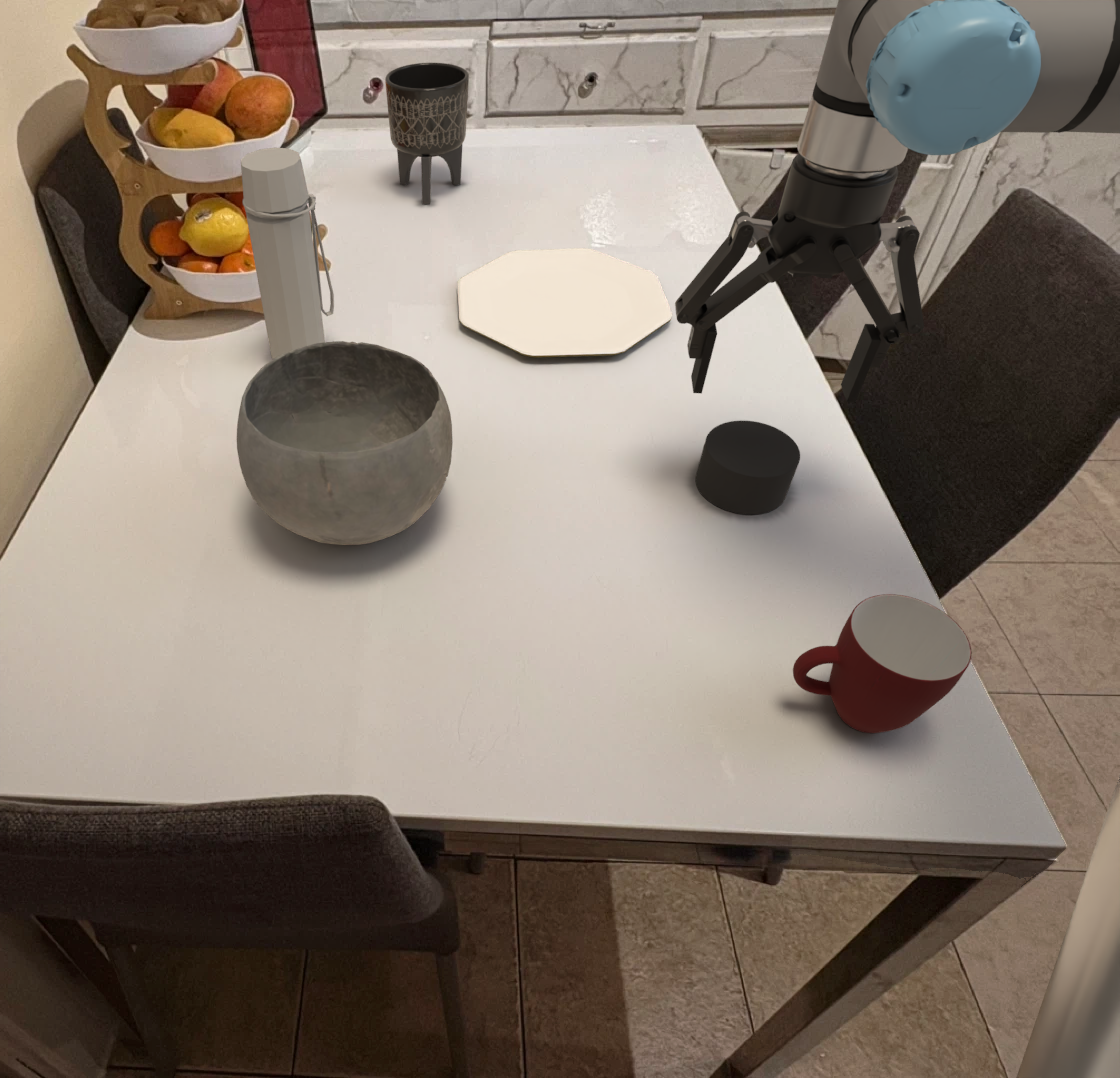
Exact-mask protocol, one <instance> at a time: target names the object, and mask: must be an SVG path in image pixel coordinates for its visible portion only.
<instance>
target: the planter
mask: <svg viewBox="0 0 1120 1078" xmlns="http://www.w3.org/2000/svg"><path fill="white" fill-rule="evenodd" d="M469 74H470V73H469V72H468V70H466V69H465V68H464V67H461V66H459V65H455V64H452V63H445V62H418V63H412V64H406V65H402V66H399V67H396V68H394V69H392V70H391V71H389V72H388V73H387V74H386V75H385V79H384V80H385V81H384V82H385V91H386V93H385V94H386V103H387V114H388V124H389V136H390V141H391V144H392V145H393V147H394V148H395V149H396V152H397V165H398V178H399V185H400V186H404V187H405V186H407V185H409V184H410V179H411V170H412V168H413V167H412V166H413V164H414V162H415V161H416V159H417V158H420V168H421V169H420V170H421V171H420V172H421V197H422V198H421V203H422V205H431V204H432V203H431V202H432V193H431V191H432V161H433V158H435V157H439V158H441V159H443V160H444V161H445V163H446V164H447V168H448V170H449V175H450V182H451V183H450V184H452V185H453V186H454V187H455V186H460V185H461V182H462V163H463V144H464V143H465V139H466V137H467V136H466V135H467V119H468V103H469V102H468V101H469V100H468V99H469V84H470V83H469V81H470V75H469Z"/></svg>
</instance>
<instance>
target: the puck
mask: <svg viewBox="0 0 1120 1078" xmlns="http://www.w3.org/2000/svg"><path fill="white" fill-rule="evenodd" d="M701 451H702V452H701V455H700V459H699V462H698V466H697V470H696V474H695V485H696V487H697V489H698V492H699V493H700V494H701V495H702V497H703V498H704V499H705V500H707V502H709V503H711V504H712V505H714V506H715V507H717V508H720V509H722V510H724V511H726V512H729V513H733V514H739V515H746V516H747V515H748V516H749V515H750V516H752V515H762V514H767V513H770V512H772V511H774V510H777V508H779V507H780V506H781V505H782V504H783V503H784V501H785V500H786V497H787V495H788V492H789V490H790V487H791V484H792V482H793V479H794V477H795V475H796V472H797V469H798V467H799V464H800V461H801V452H800V448H799V446H798V445H797V443H796V441H795V440H794V439H793V438H792V437H791V436H790V435H788V434H787V433H786V432H784V431H783V430H781V429H780V428H777V427H775V426H773V425H770V424H767V423H763V422H759V421H753V420H732V421H725V422H723V423H720V424H718V425H716V426H715V427H713V428H712V429H711V430H710V431H709V432H708V433H707V435H706V437H705V440H704V445H703V448H702V450H701Z"/></svg>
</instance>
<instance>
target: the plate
mask: <svg viewBox="0 0 1120 1078" xmlns="http://www.w3.org/2000/svg"><path fill="white" fill-rule="evenodd" d="M456 284H457V296H458V297H457V300H458V317H459V319H458V320H459V323H460V324H461V325H462V327H464V328H466V329H467V330H470V331H472V332H474V333H476V334H478V335H480V336H481V337H485V338H486V339H488V340H491V341H492V342H495V343H497V344H499V345H500V346H503V347H505V348H507V349H509V350H511V351H513V352H514V353H515V352H516V353H517V354H519V355H521V356H524V357H529V358H566V357H567V358H569V357H601V356H605V357H606V356H616V355H620V354H624V353H626V352H627V351H628V350H630V349H631V348H633V347H634V346H636V345H637V344H639V343H640V342H642V341H643V340H645V339H646V338H647V337H649V336H651V335H652V334H653V333H655V332H656V331H657V330H659V329H660V328H662V327H663V326H665V325H666V324H668V323H669V322H670V321H672V318H673V311H672V308H671V306H670V304H669V301H668V299H667V297H666V294H665V291H664V289H663V286H662V284H661V281H660V278H659V276H658V275H657V274H656V273H654V272H653V271H652V270H648V269H647V268H644V267H641V266H638V265H637V264H633V263H631V262H628V261H625V260H622V259H620V258H618V257H615V256H612V255H609V254H607V253H605V252H601V251H599V250H596V249H593V248H587V247H577V248H575V247H574V248H571V247H570V248H543V249H541V248H540V249H516V250H512V251H511V250H510V251H507V252H506V253H504V254H502V255H500V256H498V257H497V258H495V259H493V260H491V261H489V262H487V263H486V264H483V265H482V266H479V267H478V268H476V269H474V270H472V271H471V272H469V273H467V274H464V275H463V276H461V277H460V278H459V279H458V281H457V283H456Z"/></svg>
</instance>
